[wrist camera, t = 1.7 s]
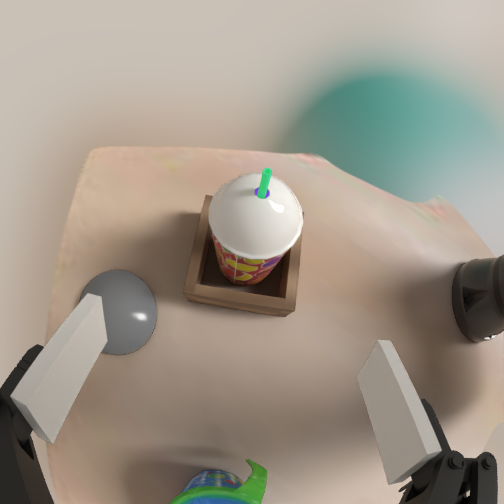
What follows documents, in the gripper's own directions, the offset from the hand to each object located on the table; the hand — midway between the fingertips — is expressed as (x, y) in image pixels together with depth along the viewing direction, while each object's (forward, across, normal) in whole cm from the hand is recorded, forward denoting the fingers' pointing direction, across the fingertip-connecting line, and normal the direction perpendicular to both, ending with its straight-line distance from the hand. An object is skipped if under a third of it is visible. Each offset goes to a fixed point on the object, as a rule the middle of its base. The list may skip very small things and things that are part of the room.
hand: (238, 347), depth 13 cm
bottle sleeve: (+24, +1, -8) cm, 26 cm away
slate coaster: (+18, -15, -15) cm, 27 cm away
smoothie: (+25, +1, -8) cm, 26 cm away
